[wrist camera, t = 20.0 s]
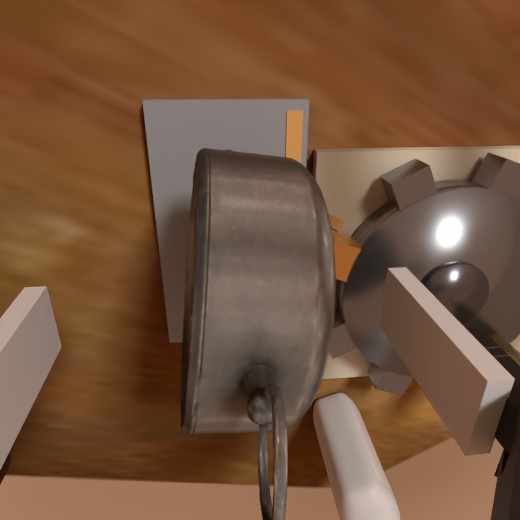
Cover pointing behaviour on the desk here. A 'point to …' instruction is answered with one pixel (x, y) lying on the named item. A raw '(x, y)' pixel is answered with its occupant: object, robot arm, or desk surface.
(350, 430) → the eye dropper bottle
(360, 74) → the desk surface
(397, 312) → the robot arm
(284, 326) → the alarm clock
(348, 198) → the plate
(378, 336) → the sprocket
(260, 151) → the pad
